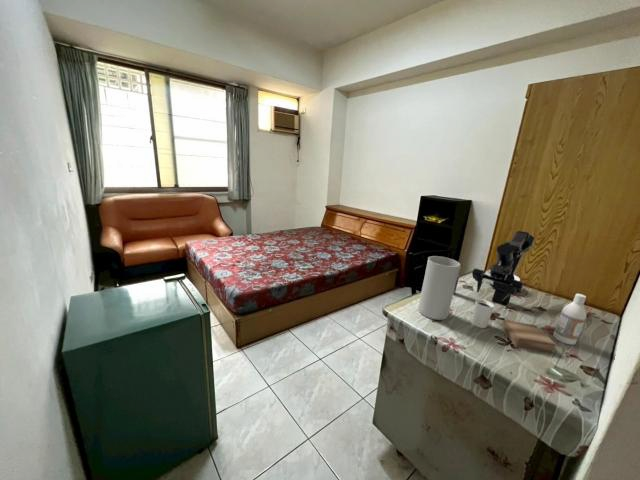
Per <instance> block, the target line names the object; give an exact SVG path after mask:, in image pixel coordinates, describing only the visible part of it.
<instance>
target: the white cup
mask: <svg viewBox="0 0 640 480" xmlns="http://www.w3.org/2000/svg"><path fill="white" fill-rule="evenodd" d="M494 308H495V305H494V304H493V302H492V301H491V302H490V301H488V300H485V299H479V298H477V299H476V300H475V304H474V307H473V312H472V313H473V314H472V315H471V316H472V317H471V323H472V325H474V326H475V327H477V328H482V329H485V328H487V327H488V324H489V322H490V319H491V317H492V314H493V311H494Z"/></svg>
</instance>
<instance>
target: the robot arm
mask: <svg viewBox="0 0 640 480" xmlns="http://www.w3.org/2000/svg"><path fill="white" fill-rule="evenodd" d="M513 235H514V236H513V237H512V239H511V240H509V241H505V242H504V243H503V244H500V245H498V246H497V247H496V258H497V261H496V262H495V263H493V264H491V268H490V269H489V270H490V274H491V275H487V274H486V273H485V270H483V269H479V268H473V270H472V272H471V274H472V278H473V279H474V280H475V281H476V282H477V283H476V285H477V286H476V293H479V292H480V291H481V287H482V285H483V280H484V279H485V280H486V279H488V280H491V281H494V282H493V285H492V287H491V288H492V289H493V290H494V292H493V296H492V299H491V303H496V304H499V305H503V306H508V304H510V301H511V297H512V295H513V296H514V295H515V294H522V292H523V290H524V289H523V288H524V282H522V281H521V280H520V281H517V280H515V278H514V275H515V273H516V271H517V269H518V267H519V265H520V262H521V260H522V258H523V257H524V256H523V255H524V254H526V253H527V252H529V251H530V249H532V248H533V247H534V244H535V241H536V240H535V237H534V236H533V235H531V232H527V231H522V230H517V232H515V233H514V234H513Z"/></svg>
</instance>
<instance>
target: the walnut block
mask: <svg viewBox="0 0 640 480" xmlns="http://www.w3.org/2000/svg"><path fill="white" fill-rule="evenodd" d="M501 330H502V331H503V332H504V333H505V335H506V336H507V338H508V339H509V340H510V341H511V342H512V344H513V345H514V346H515V348H520V349H525V350H530V351H536V352H542V353H549V354H553V353H554V349H555V346H556V343H555V342H554V341H553V340H552V339H551V338H550V337H549V336H548V335H546V333H545V332H544V331H542V330H541V329H540V327H538V326H537V325H535V324H530V323H529V324H528V323H524V322H523V323H522V322H518V321H517V322H516V321H509V320H503V323H502V326H501Z"/></svg>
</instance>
